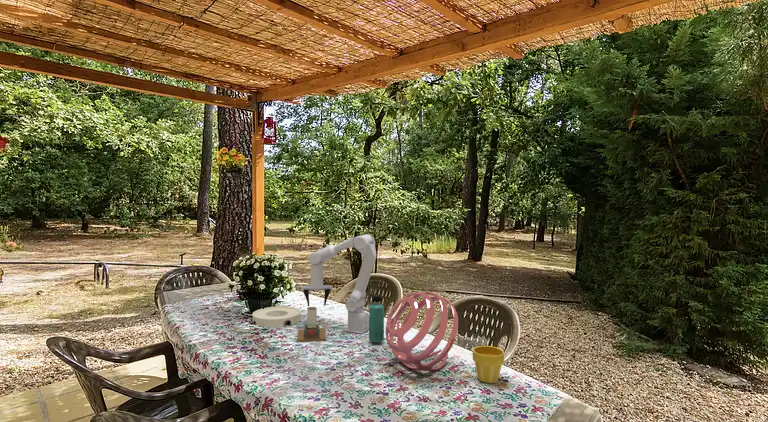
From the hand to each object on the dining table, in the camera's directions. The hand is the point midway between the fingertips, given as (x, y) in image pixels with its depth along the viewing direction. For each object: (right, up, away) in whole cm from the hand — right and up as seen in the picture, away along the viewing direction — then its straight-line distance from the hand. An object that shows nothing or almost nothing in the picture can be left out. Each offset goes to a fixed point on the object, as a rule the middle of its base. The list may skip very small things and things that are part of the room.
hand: (316, 305), depth 198 cm
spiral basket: (+44, -12, -46) cm, 65 cm away
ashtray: (-21, -9, +8) cm, 24 cm away
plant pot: (+67, -12, -56) cm, 89 cm away
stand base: (0, -10, -15) cm, 18 cm away
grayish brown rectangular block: (0, -6, -15) cm, 17 cm away
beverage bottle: (+29, -11, -23) cm, 38 cm away
